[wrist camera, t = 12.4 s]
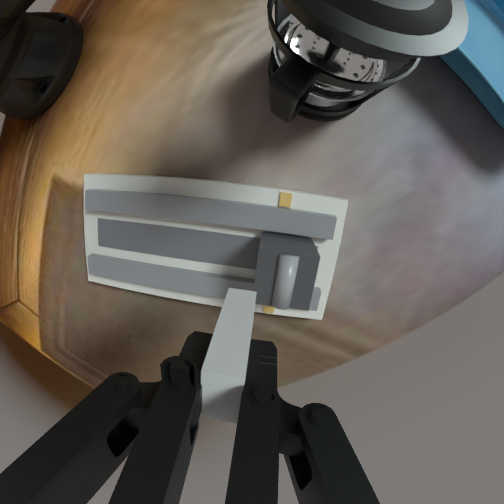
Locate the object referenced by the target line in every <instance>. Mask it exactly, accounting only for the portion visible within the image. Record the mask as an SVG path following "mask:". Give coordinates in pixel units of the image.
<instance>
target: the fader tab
mask: <svg viewBox="0 0 504 504" xmlns="http://www.w3.org/2000/svg"><path fill="white" fill-rule="evenodd" d="M319 261H320V255H319V253H318V251H317V248H316V246H315V244H314V242H313V240H312V238H306V237H299V236H292V235H285V234H278V233H271V232H263V231H262V234H261V240H260V245H259V252H258V259H257V267H256V274H255V282H254V289H253V291H256V292H257V294H256V302H255V304H259V305H267V306H273V307H275V308H277V309H281V310H286V309H288V308H290V309H299V310H307V311H309V307H310V302H311V298H312V294H313V289H314V285H315V280H316V276H317V271H318V266H319Z"/></svg>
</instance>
